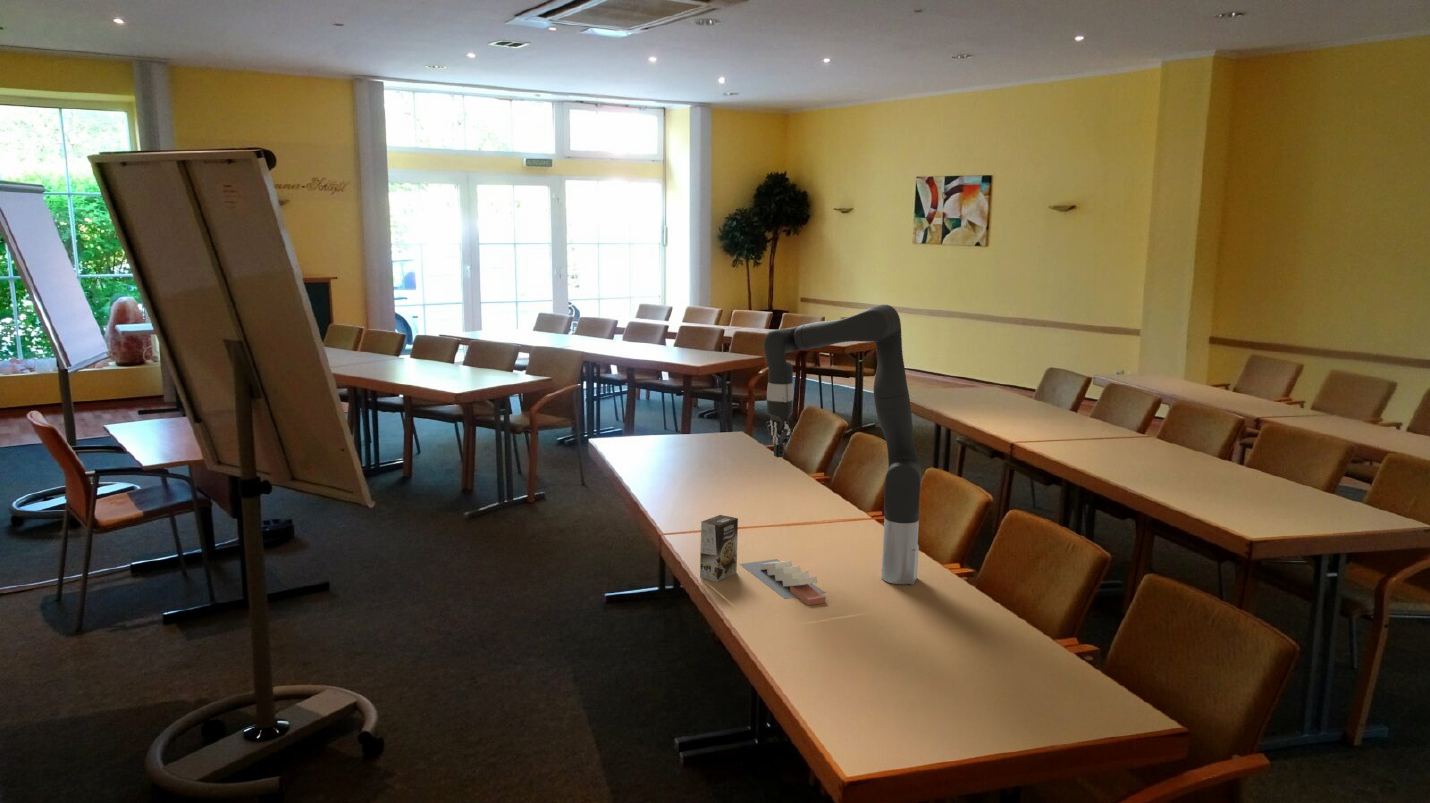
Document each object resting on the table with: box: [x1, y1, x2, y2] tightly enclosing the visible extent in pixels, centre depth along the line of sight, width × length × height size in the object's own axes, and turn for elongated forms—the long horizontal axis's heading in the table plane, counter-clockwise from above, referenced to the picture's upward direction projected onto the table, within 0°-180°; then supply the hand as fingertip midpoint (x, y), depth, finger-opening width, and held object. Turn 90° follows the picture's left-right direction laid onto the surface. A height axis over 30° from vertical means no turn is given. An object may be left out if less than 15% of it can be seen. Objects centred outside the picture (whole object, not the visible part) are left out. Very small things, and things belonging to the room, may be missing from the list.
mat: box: [739, 558, 826, 600], centre depth 261 cm, size 28×12×1 cm, turn 23°
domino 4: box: [782, 576, 818, 587], centre depth 251 cm, size 5×2×10 cm
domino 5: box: [790, 584, 827, 606], centre depth 248 cm, size 5×2×10 cm
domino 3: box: [775, 570, 810, 581], centre depth 255 cm, size 5×2×10 cm
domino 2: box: [767, 565, 802, 575], centre depth 260 cm, size 5×2×10 cm
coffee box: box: [699, 514, 739, 582], centre depth 262 cm, size 9×6×16 cm
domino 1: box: [759, 560, 793, 570], centre depth 264 cm, size 5×2×10 cm
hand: (778, 456), depth 279 cm, fingers closed
